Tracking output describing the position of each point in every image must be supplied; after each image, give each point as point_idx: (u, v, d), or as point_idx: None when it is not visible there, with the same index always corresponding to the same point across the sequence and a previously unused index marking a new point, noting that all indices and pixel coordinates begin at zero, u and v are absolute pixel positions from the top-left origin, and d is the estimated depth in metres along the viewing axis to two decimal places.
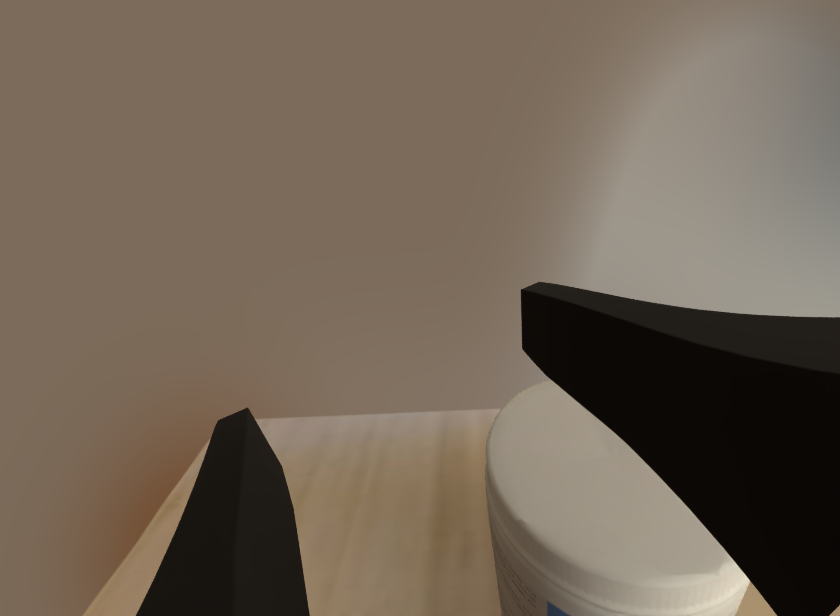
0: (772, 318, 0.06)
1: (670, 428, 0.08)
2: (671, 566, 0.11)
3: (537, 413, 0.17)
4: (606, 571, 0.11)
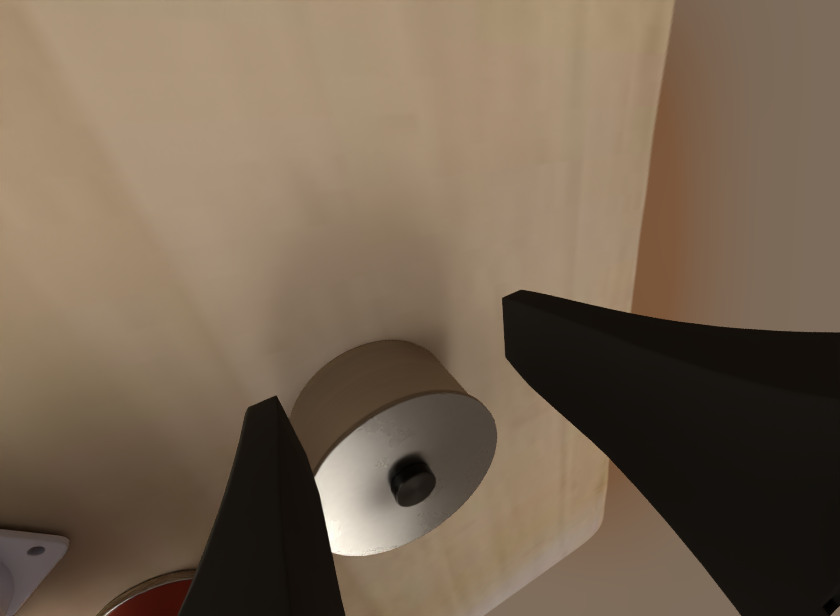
0: (749, 332, 0.06)
1: (648, 442, 0.07)
2: None
3: None
4: None
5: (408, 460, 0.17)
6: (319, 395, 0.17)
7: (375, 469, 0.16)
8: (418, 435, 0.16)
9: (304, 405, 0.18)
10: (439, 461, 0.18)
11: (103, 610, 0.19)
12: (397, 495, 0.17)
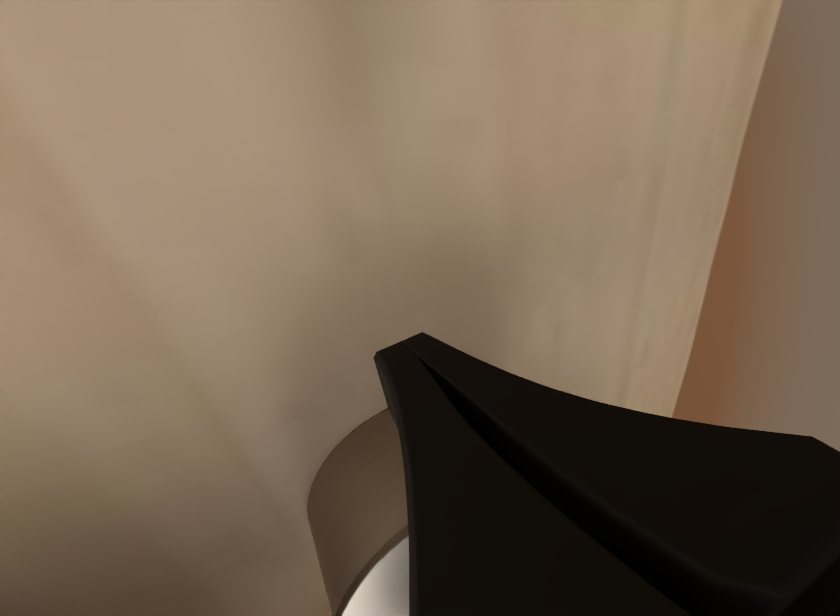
0: (617, 411, 0.05)
1: None
2: None
3: None
4: None
5: None
6: (349, 474, 0.14)
7: None
8: None
9: (328, 484, 0.14)
10: None
11: None
12: None
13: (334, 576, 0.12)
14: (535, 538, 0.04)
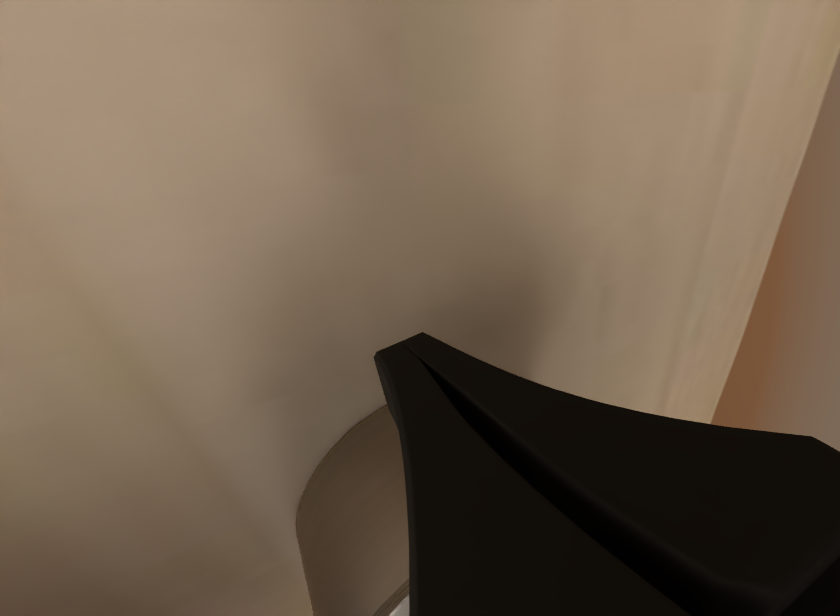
0: (617, 411, 0.05)
1: None
2: None
3: None
4: None
5: None
6: (350, 482, 0.10)
7: None
8: None
9: (322, 495, 0.11)
10: None
11: None
12: None
13: None
14: (535, 538, 0.04)
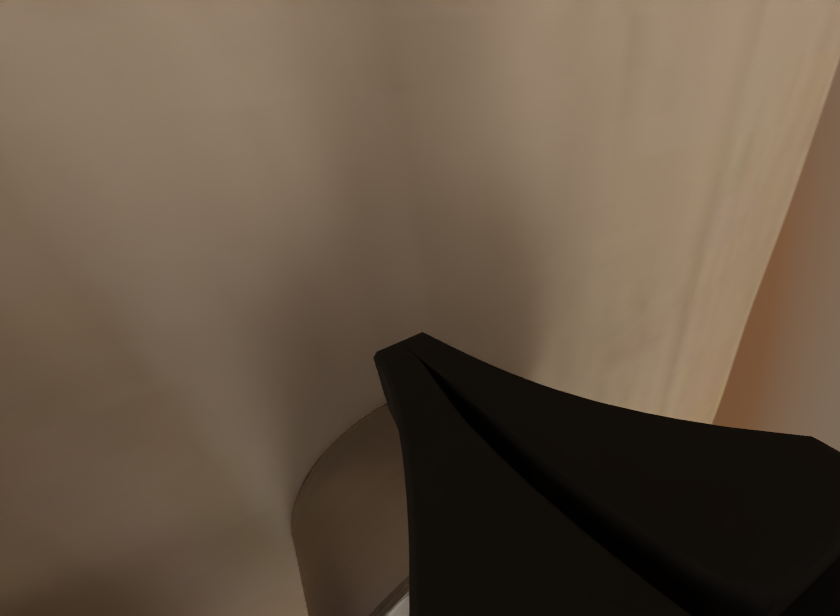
0: (617, 411, 0.05)
1: None
2: None
3: None
4: None
5: None
6: (348, 480, 0.10)
7: None
8: None
9: (321, 493, 0.11)
10: None
11: None
12: None
13: None
14: (535, 538, 0.04)
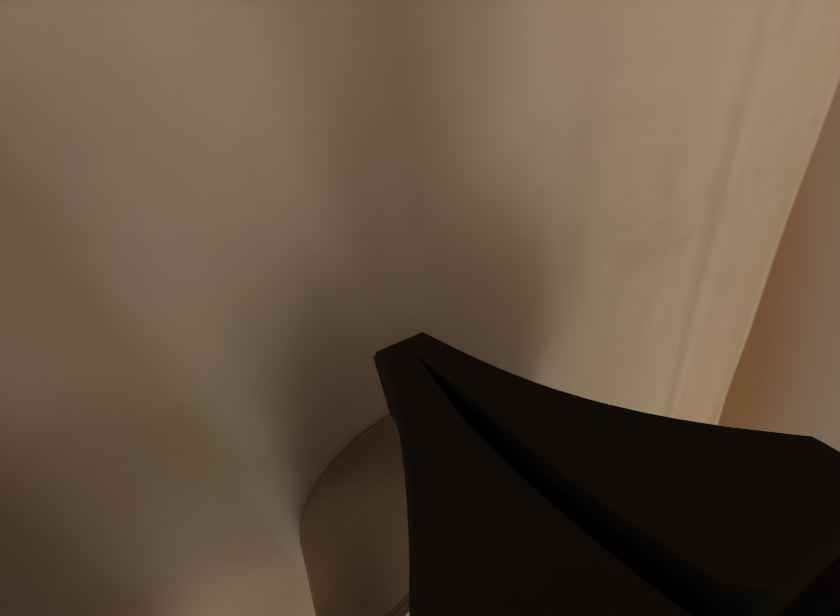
0: (617, 411, 0.05)
1: None
2: None
3: None
4: None
5: None
6: (356, 489, 0.11)
7: None
8: None
9: (329, 502, 0.11)
10: None
11: None
12: None
13: None
14: (535, 538, 0.04)
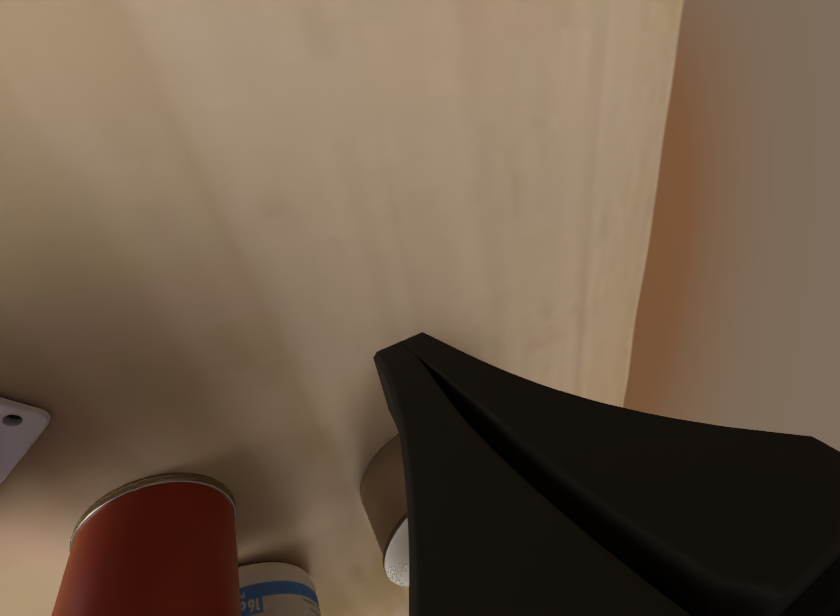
0: (617, 411, 0.05)
1: None
2: None
3: None
4: None
5: None
6: (391, 465, 0.23)
7: None
8: None
9: (377, 471, 0.24)
10: None
11: (89, 509, 0.17)
12: None
13: (384, 522, 0.22)
14: (535, 538, 0.04)
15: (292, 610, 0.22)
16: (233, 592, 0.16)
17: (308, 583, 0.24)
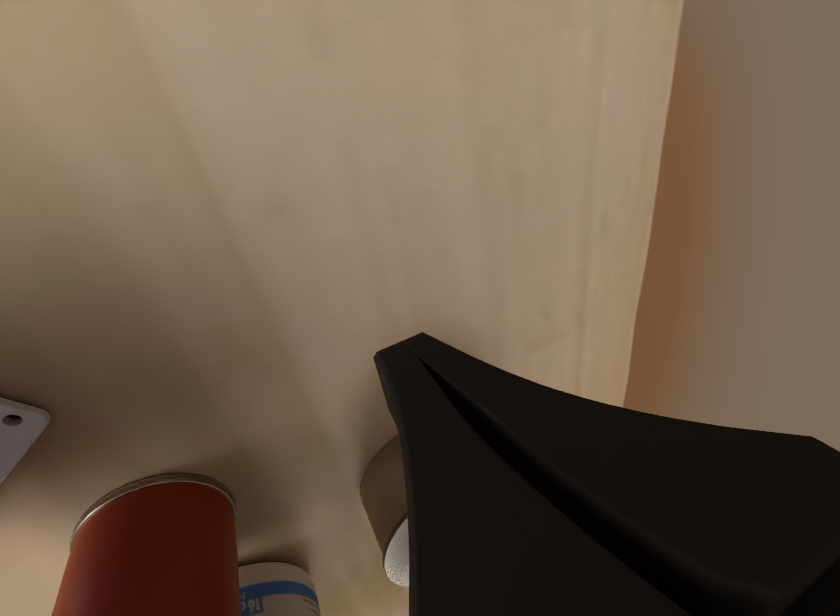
0: (617, 411, 0.05)
1: None
2: None
3: None
4: None
5: None
6: (391, 465, 0.23)
7: None
8: None
9: (377, 471, 0.24)
10: None
11: (89, 509, 0.17)
12: None
13: (384, 522, 0.22)
14: (535, 538, 0.04)
15: (292, 610, 0.22)
16: (233, 592, 0.16)
17: (308, 583, 0.24)
